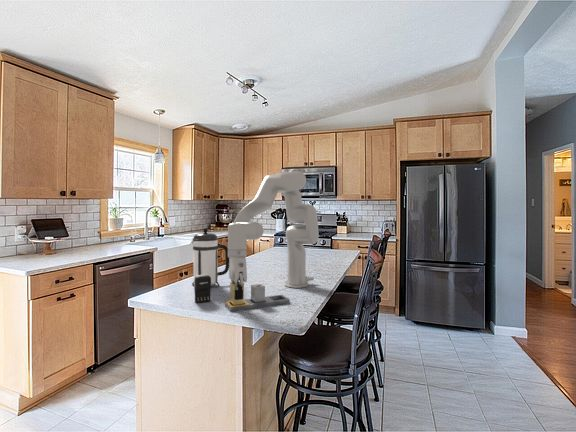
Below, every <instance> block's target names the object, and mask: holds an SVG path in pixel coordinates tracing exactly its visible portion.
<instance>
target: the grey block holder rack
mask: <svg viewBox="0 0 576 432" xmlns="http://www.w3.org/2000/svg"><path fill="white" fill-rule="evenodd" d="M290 301H291V299H290V298H288V297H287V296H286V295H283V294H276V295H269V296H265V302H261V303H253V302H251V298H244V304H237V305H233V304H232V303H231V302H230V300H229V301H225V302H224V307H226V308H227V310H228V311H229V312H238V311H244V310H251V309H258V308H265V307H272V306H279V305H285V304H286V305H287V304H290V303H291V302H290Z"/></svg>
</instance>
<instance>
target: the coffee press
mask: <svg viewBox="0 0 576 432" xmlns="http://www.w3.org/2000/svg"><path fill="white" fill-rule="evenodd" d="M208 230H209V229H208V228H207V227H204V228H203V232H201V233H197V234H195V235H193V238H192V239H191V242H190V243H189V245H191V246H192V245H193V246H192V250H193V256H192V257H193V280H194V279H195V277H196V276H198V275H209V276H210V277H211V286H214V287H215V288H220V284H219V281H218V277H219V276H223V275H226V274H227V273H229V260H230V258H229V257H228V246H226V245H223V244H218V242H219V237H218V236H217V234H216V233H212V232H208ZM218 249H223V250H224V253H225V255H224V256H225V267H224V269H223V270H222V271H219V269H218V261H219V260H218V255H219V254H218V251H219V250H218ZM191 284H192V286H193V287H194V281H193V282H192V283H191Z"/></svg>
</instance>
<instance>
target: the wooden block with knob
mask: <svg viewBox="0 0 576 432" xmlns="http://www.w3.org/2000/svg"><path fill="white" fill-rule="evenodd" d="M238 284H240V283H238ZM235 290H236V284H235V282H232V283H231V282H229V301H230V302H231V303H232V304H233V305H235V306H236V305H237V304H244V300H245V284H244V285H243V299H241V300H235Z"/></svg>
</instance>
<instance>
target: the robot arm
mask: <svg viewBox="0 0 576 432" xmlns="http://www.w3.org/2000/svg"><path fill="white" fill-rule="evenodd" d="M306 183H307V177H306V175H305V174H304V172H303V171H299V170H298V171H297V170H296V171H284V172H277V173H275V174H268V175H266V176H265V177H264V178H263V180H262V181H261V184H260V186H259V187H258V188H259V189H258V190H257V193H256V194H255V196H254V198H253V199H252V200H251V201H250V202H249V203H247V205H245V206H243V207H242V209H240V210H239V212H238V213H237V215H236V217H235V219H234V221H233V222H230V223H229V224H228V225H227V248H228V257H229V270H228V277H229V279H230V280H231V281H230V283H232V282H235V284H236V290H235V300H241V299H243V285H244V286H245V283H246V282H247V281H248V272H247V269H248V268H247V260H246V257H247V240H251V241H252V240H253V241H256V240H259V239H261V238H262V237H263V235H264V233H265V231H264V226H263V225H262V224H261V223H259V222H256V221H251V219H253V218H254V217H256V216H258V215H260V214H263V213H265V212H267V211H268V210H270V209H271V208H272V206H273V205H274V202H275V200H276V197H277V195H278V194H280V193H282V194H283V197H284V201H285V212H286V219H287V221H288V222H290V223H293V224H292V225H289V226H288V227H287V228H286V230H285V239H286V246H287V273H286V274H287V278H286V279H287V281H285V282H284V286H285V287H287V288H292V289H299V288H300V289H302V288H303V289H304V288H306V287H308V286H309V285H310V284H309V281H310V282H311V281H314V280H315V278H314V276H307V275H306V272H307V271H306V270H307V269H306V265H307V261H306V260H307V259H306V258H307V254H306V252H307V251H306V249H305V246H304V245H315V244H317V242H318V241H319V235H320V234H319V222H318V221H319V219H318V211H317V209H316V208H315V206H314V205H312V204H306V203H305V204H303V199H302V194H301V193H302V192H300V190H302V189H304V187H305V186H306ZM303 224H304V225H303ZM238 283H240V284H238Z"/></svg>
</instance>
